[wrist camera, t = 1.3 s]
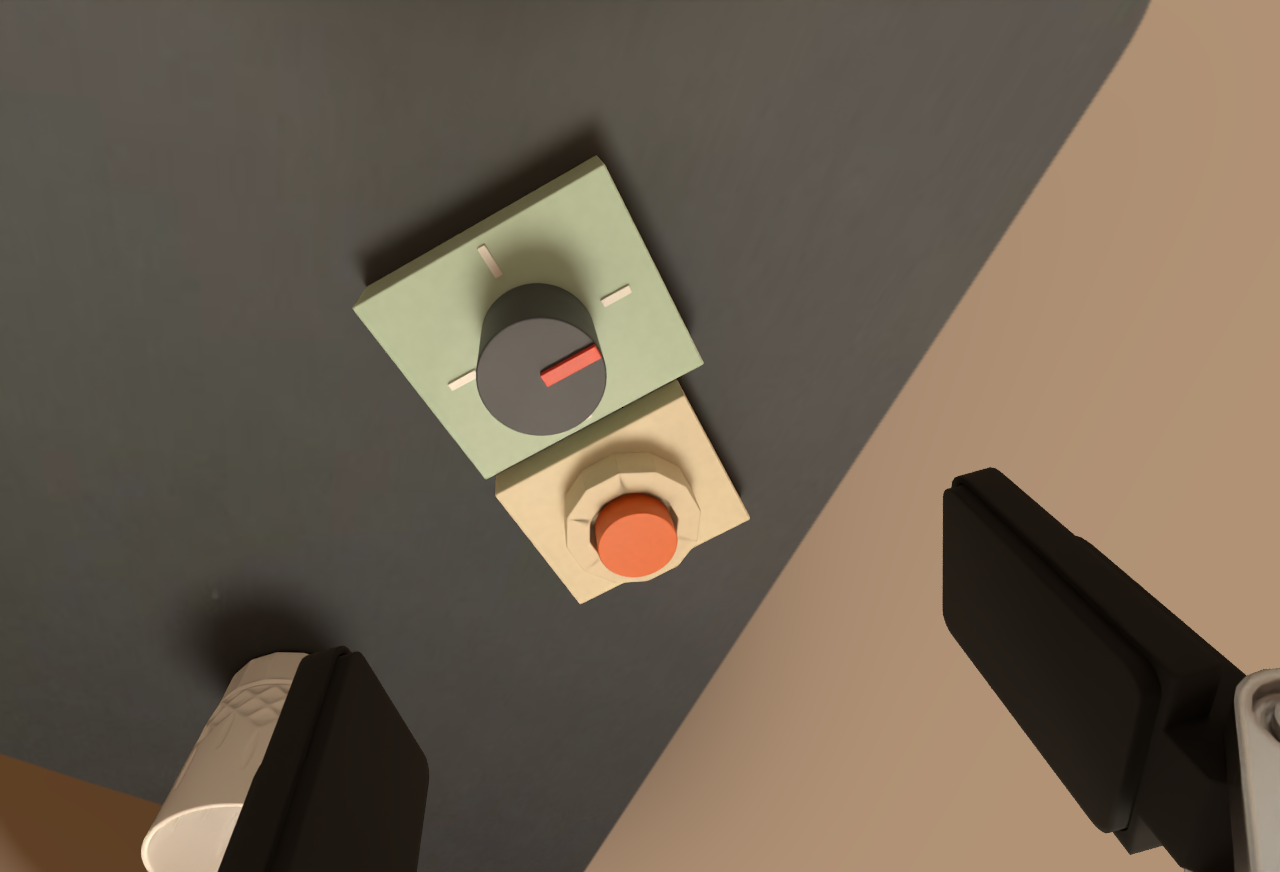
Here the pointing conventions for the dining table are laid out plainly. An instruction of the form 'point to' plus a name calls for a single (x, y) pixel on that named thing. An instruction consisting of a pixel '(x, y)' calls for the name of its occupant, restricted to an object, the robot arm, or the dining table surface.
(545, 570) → the dining table surface
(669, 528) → the button
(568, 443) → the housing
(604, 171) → the panel
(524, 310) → the program dial
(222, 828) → the white cup
